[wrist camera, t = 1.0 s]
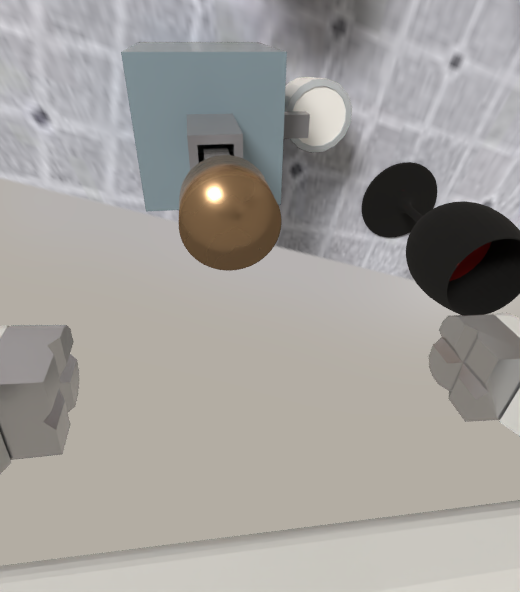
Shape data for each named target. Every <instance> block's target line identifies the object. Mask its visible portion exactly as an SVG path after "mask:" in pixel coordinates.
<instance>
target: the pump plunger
mask: <svg viewBox="0 0 520 592" xmlns="http://www.w3.org/2000/svg"><path fill="white" fill-rule="evenodd" d="M203 149H204V160H203V161H201V162H200V163H198V164H197V165H195V166H194V167H193V168H192V169H191V170H190V171H189V173H188V174H187V175H186V177H185V179H184V181H183V183H182V186H181V190H180V196H179V231H180V236H181V239H182V242H183V243H184V246H185V247H186V249H187V250H188V252H189V253H190V254H191V255H192V256H193V257H194V258H195V259H197V260H198V261H199V262H201V263H203V264H204V265H207V266H209V267H211V268H215V269H219V270H237V269H243V268H246V267H249V266H251V265H253V264H255V263H257V262H259V261H260V260H261V259H263V258H264V257H265V256H266V255H267V254H268V253H269V252H270V251H271V250H272V248H273V247H274V245H275V243H276V242H277V239H278V237H279V234H280V230H281V213H280V209H279V206H278V204H277V202H276V199H275V198H274V196H273V194H272V192H271V190H270V188H269V186H268V184H267V182H266V180H265V178H264V176H263V175H262V173H261V172H260V171H259V169H258V168H257V167H255V166H254V165H253V164H252V163H250V162H249V161H247V160H245V159H243V158H240V157H237V156H232V155H230V154H229V151H228V148H203Z"/></svg>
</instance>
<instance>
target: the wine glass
mask: <svg viewBox="0 0 520 592" xmlns="http://www.w3.org/2000/svg"><path fill="white" fill-rule="evenodd" d="M436 198H437V185H436V181H435V178H434V176H433V175H432V173H431V172H430V171H429V170H428V169H427V168H425V167H424V166H422V165H420V164H417V163H411V162H408V163H400V164H396V165H393V166H391V167H389V168H387V169H385V170H384V171H383V172H381V173H380V174H379V175H378V176H377V177H375V179H374V180H373V181H372V182H371V184H370V185H369V187H368V188H367V190H366V192H365V195H364V198H363V202H362V216H363V219H364V222H365V223H366V225H367V226H368V228H369V229H370V230H371V231H373V232H374V233H375V234H377V235H379V236H383V237H397V236H402V235H405V234H407V233H409V232H410V235H409V237H408V241H407V246H406V258H407V264H408V267H409V270H410V273H411V275H412V277H413V278H414V280H415V281H416V283H417V284H418V285H419V286H420V288H421V289H422V290H423V291H424V292H425V293H426V294H427V295H428V296H429V297H431V298H432V299H433V300H435V301H436V302H438V303H439V304H441V305H442V306H444V307H446V308H448V309H450V310H452V311H454V312H456V313H458V314H460V315H486V314H489V313H492V312H494V311H496V310H498V309H500V308H502V307H504V306H505V305H507V304H508V303H510V302H511V301H512V300H513V299H515V298H516V297H517V296H518V295H519V294H520V230H519V229H518V228H517V227H516V226H515V225H514V224H513V223H512V222H511V221H510V220H509V219H508V218H506V217H505V216H504V215H502V214H501V213H499V212H497V211H495V210H494V209H492V208H490V207H487V206H484V205H481V204H478V203H472V202H453V203H448V204H444V205H441V206H438V207H436V208H434V209H433V207H434V205H435V202H436Z"/></svg>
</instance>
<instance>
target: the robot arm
mask: <svg viewBox="0 0 520 592" xmlns="http://www.w3.org/2000/svg"><path fill="white" fill-rule="evenodd" d="M439 331H440V334H441V336H442V338H440V339H439V340H438V341H437V342H436V343H435V344H433V346H432V349H431V352H430V355H429V368H430V371H431V373H432V376H433V377H434V379H435V380H436V382H437V383H438V384H439V385H441V386H442V387H444V388H445V389H447V390H449V400H450V401H451V403H452V404H453V405H454V407H455V408H456V409H457V411H458V412H459V414H460V415H461V416H462V418H463V419H464V420H465V421H486V420H500V421H499V422H500V423H502V424H503V425H505V426H506V427H507V428H509V429H510V430H511V431H513V432H514V433H516V434H517V435H518V436H520V319H519V318H518V317H516V316H515V315H512V314H509V313H496V314H487V315H459V316H448V317H447V318H446V319H445V320H444V321H443V322H442V325H441V327H440V329H439ZM72 345H73V338H72V334H71V330H70V328H69V327H68V326H67V325H15V326H14V325H13V326H0V474H1V473H2V472H3V471H4V470H5V469H6V468H7V467H8V465H9V464H10V463H11V460H13V459H23V458H33V457H42V456H51V455H60V454H63V450H64V445H65V442H66V439H67V435H68V431H69V428H70V421H69V417H68V412H69V411H70V410H71V409H72V408H74V407H75V405H76V401H77V396H78V389H79V369H78V363H77V359H76V358H74V357H73V356H72V355H71V354H70V352H71V348H72ZM0 592H520V500H518V501H509V502H501V503H494V504H486V505H478V506H471V507H462V508H455V509H446V510H438V511H431V512H423V513H415V514H407V515H399V516H392V517H383V518H375V519H368V520H360V521H352V522H344V523H336V524H328V525H320V526H312V527H304V528H297V529H288V530H281V531H273V532H265V533H257V534H249V535H241V536H234V537H225V538H217V539H209V540H202V541H193V542H186V543H178V544H170V545H162V546H154V547H146V548H138V549H130V550H122V551H115V552H107V553H99V554H91V555H83V556H75V557H68V558H59V559H51V560H43V561H35V562H27V563H20V564H11V565H3V566H0Z"/></svg>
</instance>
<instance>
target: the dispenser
mask: <svg viewBox="0 0 520 592" xmlns="http://www.w3.org/2000/svg"><path fill="white" fill-rule="evenodd" d="M121 54H122V61H123V67H124V73H125V80H126V86H127V93H128V99H129V105H130V112H131V118H132V125H133V131H134V137H135V144H136V150H137V157H138V163H139V169H140V176H141V182H142V189H143V195H144V201H145V208H146V211H165V210H179V196H180V190H181V186H182V183H183V181H184V179H185V177H186V175H187V174H188V173H189V171H190V170H191V169H192V168H193V167H194V166H195V165H197V164H198V163H200V162H201V161H203V160H204V149H203V148H228V151H229V154H230V155H232V156H237V157H240V158H243V159H245V160H247V161H249V162H250V163H252V164H253V165H254V166H255V167H257V168H258V169H259V171H260V172H261V173H262V175H263V176H264V178H265V180H266V182H267V184H268V186H269V188H270V190H271V192H272V194H273V196H274V198H275V199H276V202H277V204H278V205H281V189H282V163H283V139H292V138H308V135H309V120H310V114H309V113H307V112H306V111H290V112H284V111H285V85H286V59H287V52H286V51H283V50H280V49H277V48H274V47H271V46H268V45H265V44H262V43H259V42H138V43H136V44H135V45H133V46H131V47H129V48H127V49H126V50H124V51H122V52H121Z"/></svg>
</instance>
